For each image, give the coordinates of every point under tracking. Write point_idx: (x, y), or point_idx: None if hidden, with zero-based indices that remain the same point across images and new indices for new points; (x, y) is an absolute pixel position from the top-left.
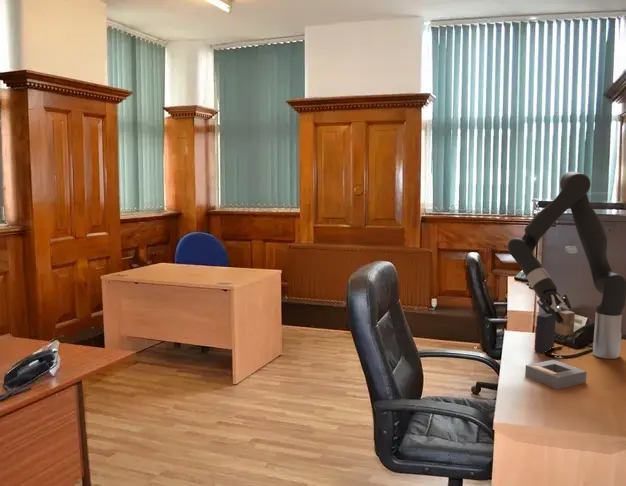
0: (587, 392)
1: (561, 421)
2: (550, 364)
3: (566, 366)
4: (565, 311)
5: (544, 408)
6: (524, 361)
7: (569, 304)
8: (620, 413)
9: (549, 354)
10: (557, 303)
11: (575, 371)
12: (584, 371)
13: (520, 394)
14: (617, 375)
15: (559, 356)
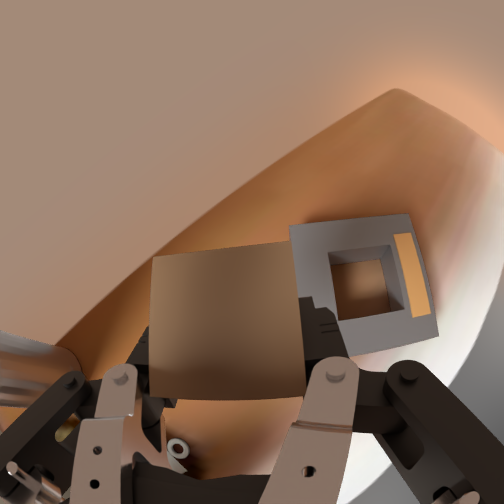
0: (338, 191)
1: (451, 133)
2: (357, 319)
3: (317, 283)
4: (206, 333)
5: (462, 169)
6: None
7: (47, 398)
8: (346, 115)
9: None
10: (193, 479)
11: (324, 235)
12: (296, 226)
13: (482, 233)
14: None
15: (172, 448)
